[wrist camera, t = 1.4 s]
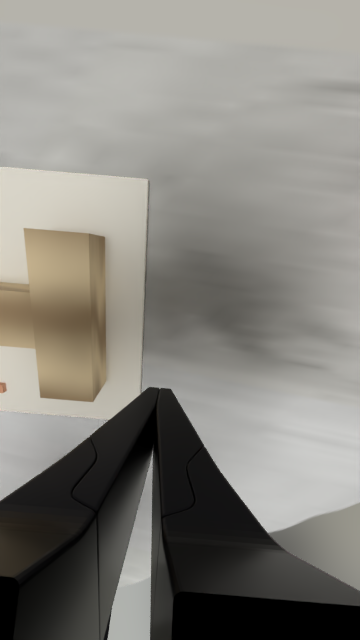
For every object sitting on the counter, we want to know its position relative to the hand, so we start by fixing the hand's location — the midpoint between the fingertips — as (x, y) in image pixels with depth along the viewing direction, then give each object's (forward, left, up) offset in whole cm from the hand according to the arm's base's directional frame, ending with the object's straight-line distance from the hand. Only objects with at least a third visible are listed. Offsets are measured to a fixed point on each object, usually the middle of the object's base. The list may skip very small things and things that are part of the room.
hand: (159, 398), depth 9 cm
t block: (0, +11, -10) cm, 16 cm away
